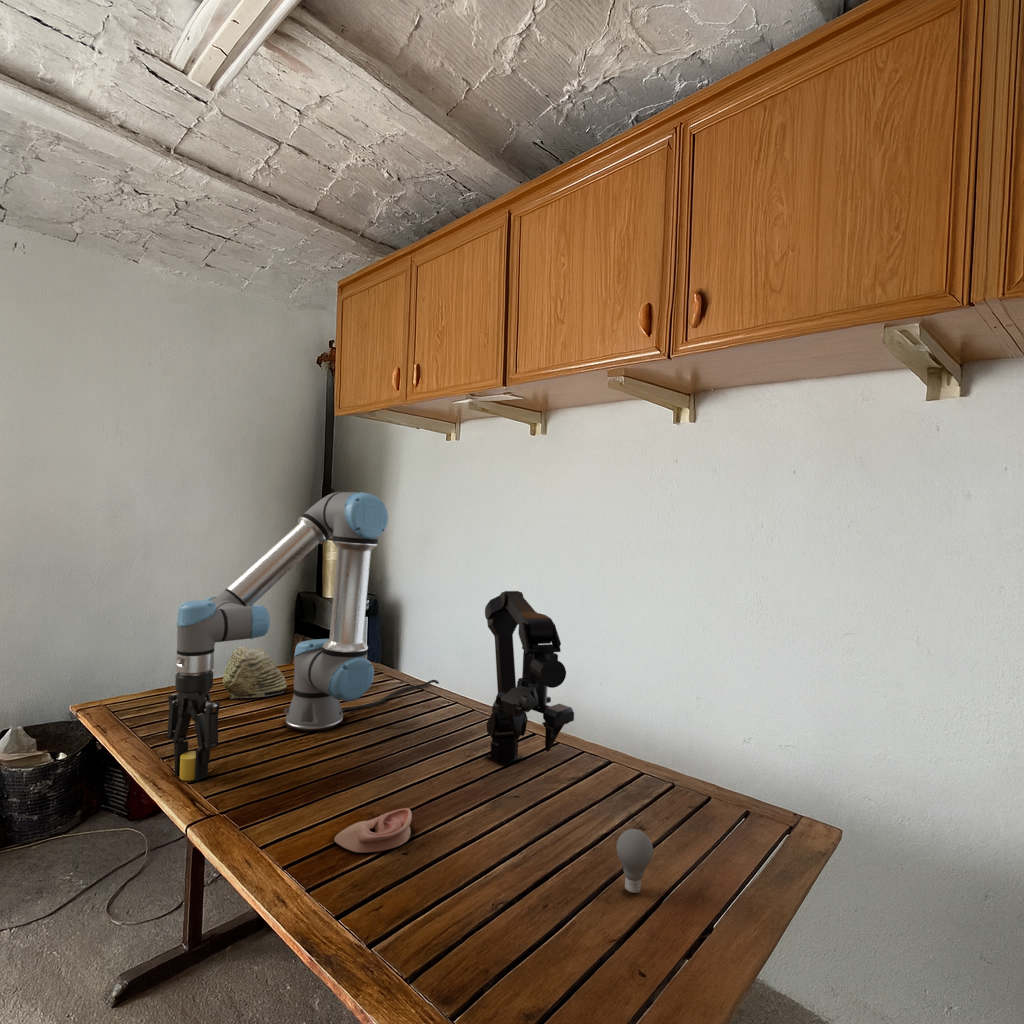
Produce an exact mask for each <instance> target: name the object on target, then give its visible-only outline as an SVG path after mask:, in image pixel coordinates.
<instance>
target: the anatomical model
mask: <svg viewBox="0 0 1024 1024" xmlns="http://www.w3.org/2000/svg"><path fill="white" fill-rule="evenodd" d="M412 819H413V813H412V811H411V809H410V808H408V807H404V808H398V809H395V810H392V811H388V812H385V813H384V814H380V815H379V816H377V817H374V818H372V819H369V820H362V821H358V822H354V823H353V824H351V825H348V826H347V827H346V828H344V829H341V831H340V832H338V833H337V834H336V835H335V837H334V839H333V840H334V842H335V843H336V844H337V845H338V846H339V847H341V848H343V849H346V850H348V851H350V852H353V853H359V854H364V853H376V852H383V851H387V850H391V849H395V848H398V847H399V846H402V845H404V844H405V843H406V842H408V841H409V840H410V838H411V833H412V831H411V827H410V825H411V824H412Z"/></svg>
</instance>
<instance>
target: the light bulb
mask: <svg viewBox="0 0 1024 1024" xmlns="http://www.w3.org/2000/svg"><path fill="white" fill-rule="evenodd" d="M615 849H616V854H617V857H618V859H619V861H620V863H621V865H622V867H623V873H624V874H623V875H624V876H625V878H624V888H625V890H627V891H628V892H630V893H634V894H635V893H639V892H640V891H641V889H642V887H641V886H642V879H643V877H644V875H645V871H646V868H647V867H648V866H649V864H650V863H651V861H652V859H653V855H654V847H653V843H652V841H651V838H649V836H648V835H647V834H646V833H645V832H643V831H642V830H641V829H636V828H629V829H627V830H625V831H623V832H622V833H621V834H620V835H619V837H618V839H617V841H616V847H615Z"/></svg>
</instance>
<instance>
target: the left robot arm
mask: <svg viewBox="0 0 1024 1024" xmlns="http://www.w3.org/2000/svg"><path fill="white" fill-rule="evenodd" d="M388 523H389V513H388V509H387V506H386V505H385V503H384V502H383V501H382V499H381V498H379V497H378V496H377V495H374V494H372V493H367V492H364V491H359V492H358V491H357V492H355V491H354V492H352V491H351V492H350V491H334V492H332V493H330V494H328V495H325V496H324V497H322V498H321V499H320V500H318V501H317V502H315V503H314V504H313V505H312V506H310V508H308V509H307V510H306V511H305V512H304V513H303V514H302V515H300V517H298V518H297V524H296V525H295V526H294V527H293V528H292V529H291V530H290V531H288V532H287V534H285V535H284V536H283V537H281V539H280V540H279V541H277V542H276V543H275V544H274V545H273V546H272V547H271V548H269V549H268V550H267V551H266V552H265V553H264V554H263V555H262V556H261V557H259V558H258V559H257V560H256V561H255V562H254V563H253V564H252V565H251V566H250V567H249V568H247V569H246V570H245V571H244V572H243V573H242V574H241V575H239V576H238V577H237V578H236V579H235V580H234V581H233V582H232V583H231V584H229V585H228V586H227V587H226V588H225V589H223V590H222V592H221V593H219V594H218V595H217V596H211V597H208V598H206V599H201V600H198V599H197V600H187V601H185V602H183V603H181V604H180V605H179V607H178V612H177V620H176V630H177V631H176V661H175V663H176V664H175V671H176V672H177V673H176V674H175V679H174V681H175V682H174V689H175V691H176V692H177V693H174V694H170V695H168V697H167V700H168V717H167V719H168V720H167V732H166V738H167V739H168V740H172V744H173V745H174V746H173V757H174V772H173V773H174V775H180V756H181V755H182V754H183V753H186V752H189V740H188V739H189V737H188V731H189V727H190V724H191V720H192V721H193V723H194V727H195V728H194V729H195V734H196V739H197V746H198V749H195V751H196V761H195V780H194V781H196V782H198V781H201V780H203V779H205V778H207V777H208V776H209V764H210V761H211V749H215V748H216V747H218V746H219V710H220V707H221V703H220V702H219V701H216V702H214V701H212V700H211V695H210V691H211V689H212V688H213V687H214V671H213V669H214V668H215V645H216V643H222V642H223V643H224V642H232V641H242V640H249V639H250V640H253V639H257V638H261V637H264V636H266V635H267V634H268V632H269V630H270V625H271V623H270V622H271V619H270V614H269V613H270V612H269V611H268V609H267V607H265V606H264V605H254V604H255V603H256V602H258V600H260V599H261V598H262V597H263V596H264V595H265V594H266V593H267V592H268V591H270V589H271V588H273V587H274V586H275V585H276V584H277V583H278V582H279V581H280V580H281V579H282V578H283V577H284V576H285V575H287V573H289V572H290V571H291V570H292V569H293V568H294V567H295V566H296V565H297V564H298V563H299V562H300V561H302V560H303V559H304V558H305V557H306V556H307V555H308V554H309V553H310V552H311V551H313V549H314V548H315V547H317V546H318V545H324V544H325V543H327V542H328V541H329V540H330V539H331V538H332V540H331V541H332V543H333V544H334V545H335V547H336V548H337V551H336V552H337V553H336V563H335V564H336V565H335V575H334V587H333V597H332V606H331V607H332V608H331V618H330V628H329V629H330V630H329V638H319V639H308V640H303V641H300V642H297V644H296V646H295V650H294V655H293V657H294V672H293V695H292V696H293V697H292V699H291V702H290V704H289V706H288V707H285V708H283V714H284V715H285V714H286V715H285V726H286V728H287V729H289V730H291V731H294V732H295V731H296V732H301V733H316V732H325V731H329V730H332V729H335V728H337V727H339V726H340V725H342V723H343V722H344V714H343V711H344V712H345V711H353V710H359V709H366V708H370V707H374V706H377V705H379V704H382V703H384V702H385V701H387V700H388V699H390V698H391V697H393V696H395V695H397V694H400V693H401V692H405V691H409V690H413V689H418V688H423V687H426V686H428V685H430V684H432V683H435V684H437V685H439V684H440V682H439V681H438V680H436V679H431V680H428V681H426V682H424V683H421V684H416V685H411V686H406V687H403V688H400V689H397V690H394V691H393V692H391V693H389V694H387V695H386V696H384V697H383V698H381V699H380V700H378V701H374V702H371V703H367V704H361V705H354V706H344V707H342V706H341V702H340V701H342V702H353V701H357V700H358V699H360V698H361V697H363V696H364V694H365V693H366V692H368V691H369V689H370V688H371V686H372V684H373V681H374V677H375V670H374V666H373V664H372V663H371V661H370V660H368V651H369V645H367V643H366V642H364V633H365V620H366V610H367V599H368V587H369V576H370V565H371V555H372V554H371V553H372V550H373V549H375V548H376V547H377V546H378V542H379V541H378V540H379V536H381V535H382V534H383V532H385V531H386V529H387V526H388Z"/></svg>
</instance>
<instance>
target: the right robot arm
mask: <svg viewBox="0 0 1024 1024" xmlns="http://www.w3.org/2000/svg"><path fill="white" fill-rule="evenodd" d="M484 616H485V619H486V623H487V628H488V629H489V631H490V632H491V634H492V635H493V637H494V651H495V666H496V668H495V669H496V670H495V671H496V685H497V693H496V696H495V700H494V702H493V703H492V706H491V713H490V716H489V718H488V719H487V722H486V733H487V734H488V735H489V737H490V738H491V742H490V753H489V754H487V755H486V758H487V759H489V760H490V761H493V762H495V763H498V764H499V765H502V766H508V765H511V764H513V763H515V762H518V761H521V760H522V759H523V756H521V755H519V754H518V752H519V739H520V737H521V736H522V737H524V736H525V734H526V730H527V725H528V719H529V718H528V716H527V713H530V711H534V712H536V713H540V714H542V719H543V720H544V721H543V722H541V725H542V726H543V727H544V729H545V736H544V738H545V739H544V747H545V752H550V751H551V749H552V747H553V745H554V743H555V742H556V740H557V737H558V736H559V734H560V732H561V730H562V729H563V727H564V726H565V725H568V724H569V723H572V722H575V710H574V709H573V708H572V706H568V705H565V704H563V703H557V704H554V705H548V704H549V703H551V702H552V697H551V696H548V688H551V689H554V688H558V687H559V686H561V685H562V684H563V683H564V681H565V679H566V677H567V670H566V667H565V664H564V663H563V662H562V661H560V660H559V655H558V653H561V645H562V643H561V639H560V635H559V633H558V629H557V626H556V624H555V622H554V621H553V619H552V618H551V617H550V616H548V615H546V614H544V613H539V612H537V611H536V610H535V609H534V608H533V607H532V605H531V604H530V603H529V602H528V601H527V599H525V597H524V593H523V592H521V591H519V590H505V591H502V592H501V593H500V594H499V595H498V596H496V597H493V598H492V599H489V601H488V603H486V605H485V608H484ZM517 627H518V638H519V640H520V643H521V649H522V650H523V652H522V672H521V673H522V675H521V677H519V678H517V679H518V680H517V679H516V677H517V676H516V663H515V647H514V633H515V631H516V629H517Z"/></svg>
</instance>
